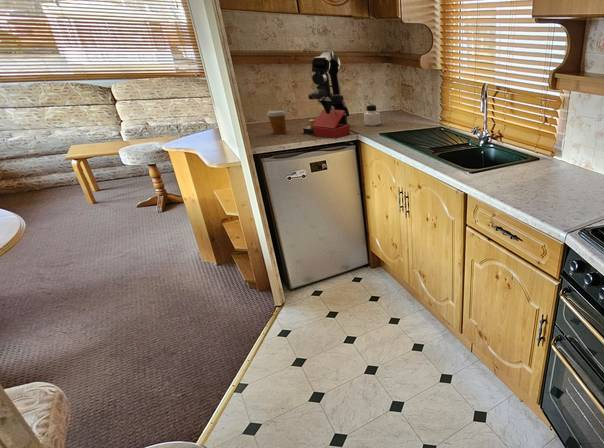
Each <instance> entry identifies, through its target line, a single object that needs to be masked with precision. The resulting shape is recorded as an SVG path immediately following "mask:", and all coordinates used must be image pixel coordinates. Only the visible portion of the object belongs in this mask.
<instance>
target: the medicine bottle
mask: <svg viewBox="0 0 604 448" xmlns="http://www.w3.org/2000/svg"><path fill="white" fill-rule="evenodd" d="M365 109H366V112H364V113H363V121H364V125H365V126H371V127H373V126H379V125H381V123H382V122H381V113H380V112H377V106H376V105H375V104H367V105H365Z"/></svg>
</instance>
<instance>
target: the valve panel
mask: <svg viewBox="0 0 604 448" xmlns="http://www.w3.org/2000/svg"><path fill="white" fill-rule="evenodd" d="M302 130H303V134H304V135H313V136H314V132H313V128H310V125H308V126H307V127H303V128H302Z"/></svg>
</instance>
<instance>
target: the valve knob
mask: <svg viewBox="0 0 604 448" xmlns="http://www.w3.org/2000/svg"><path fill="white" fill-rule="evenodd" d="M316 120H317V118H313V119H308V123H309V126H310V128H313V124H314V123H315V121H316Z"/></svg>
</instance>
